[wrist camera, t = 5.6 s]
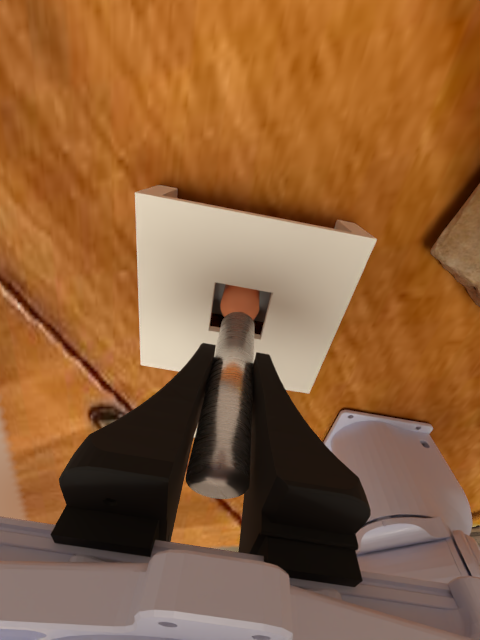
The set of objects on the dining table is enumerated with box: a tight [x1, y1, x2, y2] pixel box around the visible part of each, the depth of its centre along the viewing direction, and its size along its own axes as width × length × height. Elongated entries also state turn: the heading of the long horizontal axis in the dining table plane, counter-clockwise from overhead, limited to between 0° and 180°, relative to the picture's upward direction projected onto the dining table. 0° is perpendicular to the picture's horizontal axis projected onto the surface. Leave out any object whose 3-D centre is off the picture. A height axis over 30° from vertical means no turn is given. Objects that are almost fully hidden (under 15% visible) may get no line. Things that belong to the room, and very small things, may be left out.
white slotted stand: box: [135, 185, 377, 394], centre depth 19 cm, size 13×12×4 cm
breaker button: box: [212, 283, 271, 322], centre depth 19 cm, size 5×5×3 cm
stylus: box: [186, 312, 255, 499], centre depth 12 cm, size 2×2×9 cm
